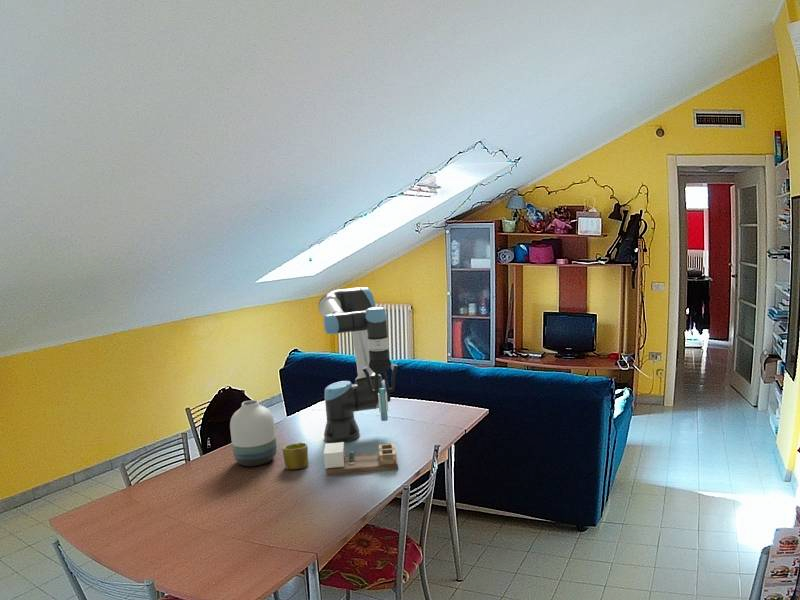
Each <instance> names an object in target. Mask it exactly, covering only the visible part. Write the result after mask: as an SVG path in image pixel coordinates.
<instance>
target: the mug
mask: <svg viewBox="0 0 800 600" xmlns="http://www.w3.org/2000/svg"><path fill="white" fill-rule="evenodd" d="M308 449H309V447H308V445H307V443H305V442H304V443H303V442H300V441H299V442H298V441H297V442H296V443H292V444H287V445H284V446H283V448H282V457H283V459H284V465H285V467H286V469H287V470H291V471H292V470H293V471H294V470H295V471H296V470H300V469H304V468H307V467H308V466H309V454H308Z"/></svg>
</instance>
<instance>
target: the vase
mask: <svg viewBox="0 0 800 600" xmlns="http://www.w3.org/2000/svg"><path fill="white" fill-rule="evenodd" d="M275 425H276V424H275V418H274V415H273V413H272V412H271V410H270V409H269V408H267V407H265V406H263V405H261V404H260V402H259V401H258V400H256V399H251V400H245V401H243V402H242V403H241V406H240V408H239V409H237V410H236V411H235V412H234V413H233V414H232V416H231V418H230V422H229V430H230V437H231V438H230V439H231V446H232V453H233V454H232V455H233V457H234V459H235V461H236V462H237V464H239V465H241V466H244V467H245V466H246V467H257V466H261V465H264V464H266V463H267V464H268V463H269V462H270V461H272V460H273V459H274V458H275V456H276V454H277V451H278V450H277V448H278V447H277V434H276V426H275Z"/></svg>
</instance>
